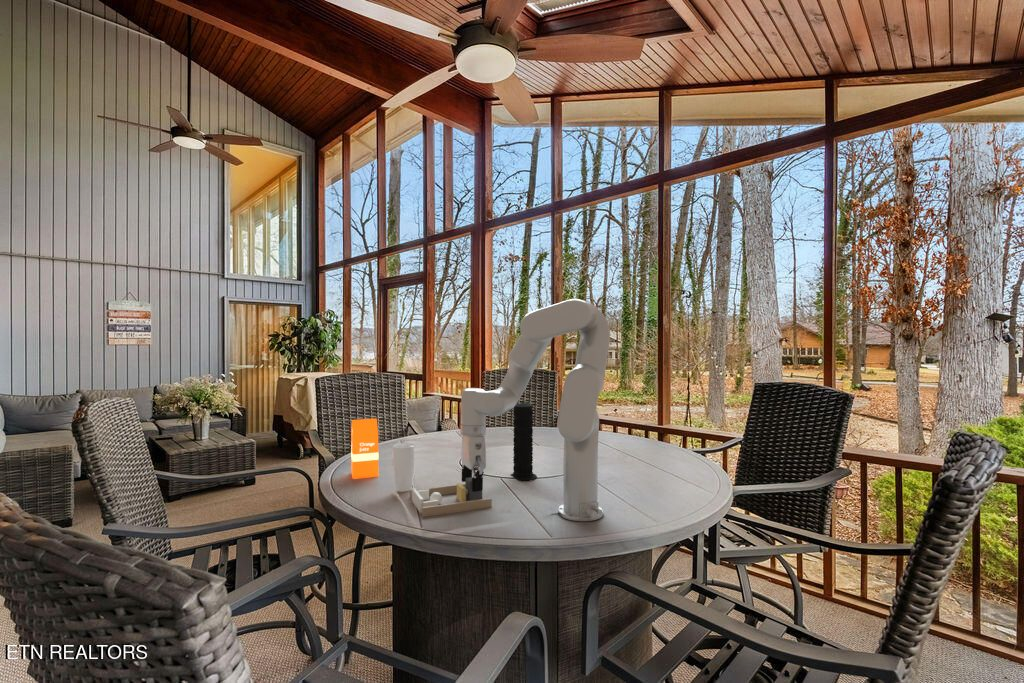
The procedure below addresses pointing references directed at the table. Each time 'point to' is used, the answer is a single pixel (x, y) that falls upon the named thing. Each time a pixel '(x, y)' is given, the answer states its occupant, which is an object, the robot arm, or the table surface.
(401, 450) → the drinking glass
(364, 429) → the orange juice
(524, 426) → the handle grip
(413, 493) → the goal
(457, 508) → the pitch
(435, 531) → the table surface
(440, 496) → the ball
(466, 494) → the grey cube yellow base
